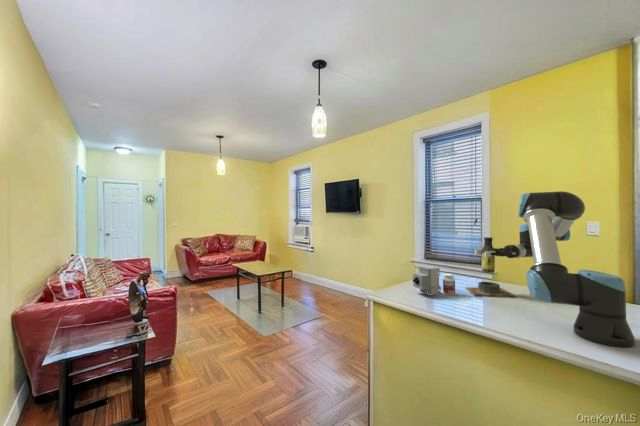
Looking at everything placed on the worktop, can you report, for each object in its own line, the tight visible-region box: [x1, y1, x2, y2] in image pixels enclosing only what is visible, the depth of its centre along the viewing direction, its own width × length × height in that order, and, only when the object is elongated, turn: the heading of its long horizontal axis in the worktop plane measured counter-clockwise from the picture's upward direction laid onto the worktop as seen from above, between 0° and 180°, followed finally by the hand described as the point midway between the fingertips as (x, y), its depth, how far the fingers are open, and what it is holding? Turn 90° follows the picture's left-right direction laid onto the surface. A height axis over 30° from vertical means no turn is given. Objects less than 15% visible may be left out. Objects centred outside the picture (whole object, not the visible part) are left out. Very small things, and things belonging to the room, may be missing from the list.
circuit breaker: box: [412, 265, 442, 296], centre depth 153 cm, size 8×14×15 cm, turn 107°
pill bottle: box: [442, 273, 456, 296], centre depth 152 cm, size 6×6×11 cm
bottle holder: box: [465, 281, 516, 298], centre depth 151 cm, size 20×14×5 cm
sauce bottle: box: [481, 236, 496, 274], centre depth 152 cm, size 6×6×20 cm
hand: (480, 253), depth 151 cm, fingers closed on sauce bottle, 6 cm apart
